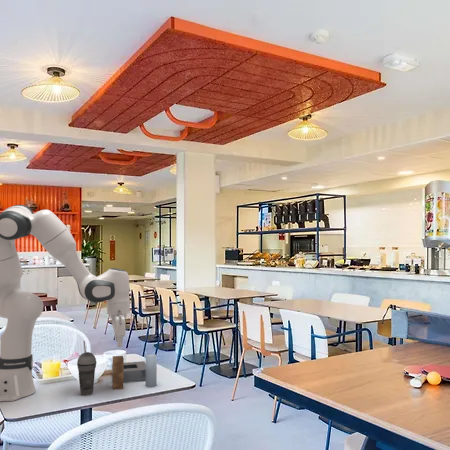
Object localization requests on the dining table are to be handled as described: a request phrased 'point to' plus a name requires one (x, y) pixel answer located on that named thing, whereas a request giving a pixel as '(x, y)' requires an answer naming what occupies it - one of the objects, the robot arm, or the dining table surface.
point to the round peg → (151, 370)
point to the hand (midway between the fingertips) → (118, 343)
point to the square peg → (118, 372)
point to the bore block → (134, 371)
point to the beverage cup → (86, 372)
